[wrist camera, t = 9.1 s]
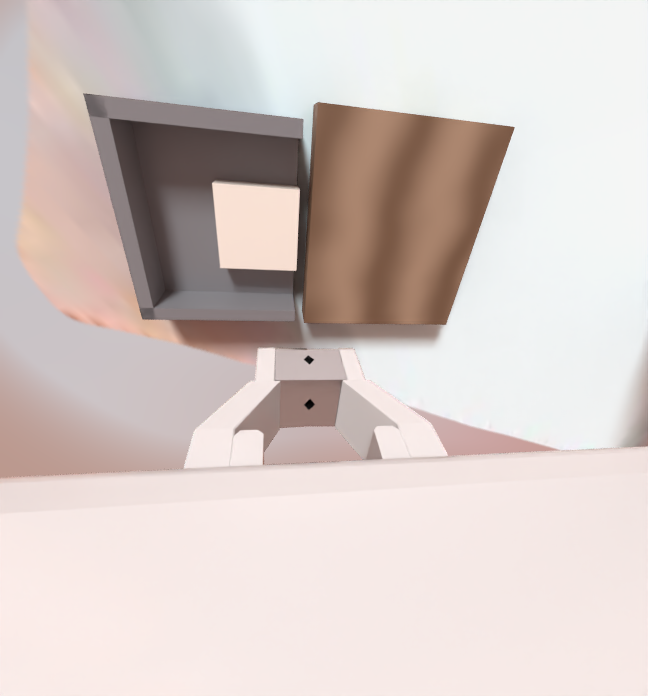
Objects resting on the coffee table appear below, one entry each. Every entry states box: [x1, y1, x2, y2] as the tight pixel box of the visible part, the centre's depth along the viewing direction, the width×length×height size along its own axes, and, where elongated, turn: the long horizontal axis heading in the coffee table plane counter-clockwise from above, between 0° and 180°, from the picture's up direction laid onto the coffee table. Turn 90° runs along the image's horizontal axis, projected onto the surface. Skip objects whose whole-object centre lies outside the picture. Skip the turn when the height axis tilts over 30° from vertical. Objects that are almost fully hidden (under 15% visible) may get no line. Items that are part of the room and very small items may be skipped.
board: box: [302, 102, 515, 325], centre depth 27 cm, size 14×16×2 cm
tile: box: [212, 179, 300, 271], centre depth 24 cm, size 6×6×2 cm
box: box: [83, 93, 303, 321], centre depth 24 cm, size 12×14×4 cm
